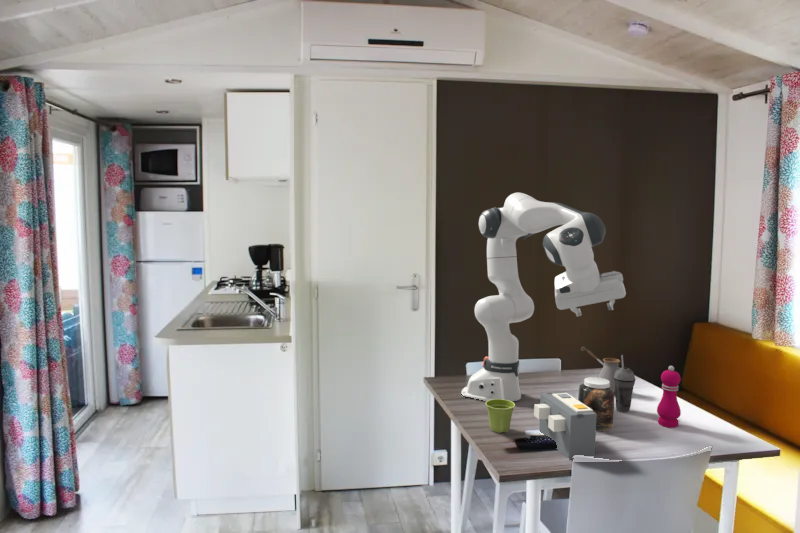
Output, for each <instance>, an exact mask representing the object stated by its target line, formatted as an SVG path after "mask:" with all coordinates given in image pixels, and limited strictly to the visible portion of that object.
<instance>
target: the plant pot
mask: <svg viewBox="0 0 800 533" xmlns="http://www.w3.org/2000/svg"><path fill="white" fill-rule="evenodd" d="M485 406H486V409H487V414H488V421H489V430H490V431H492V432H493V433H494V432H495V433H497V434H501V433H507V432H509V431H510V428H511V422H512V421H511V420H512V416H513V412H514V408H515V407H516V403H515V402H514V401H513V402H512V401H509V400H504V399H492V400H488V401H485Z"/></svg>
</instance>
